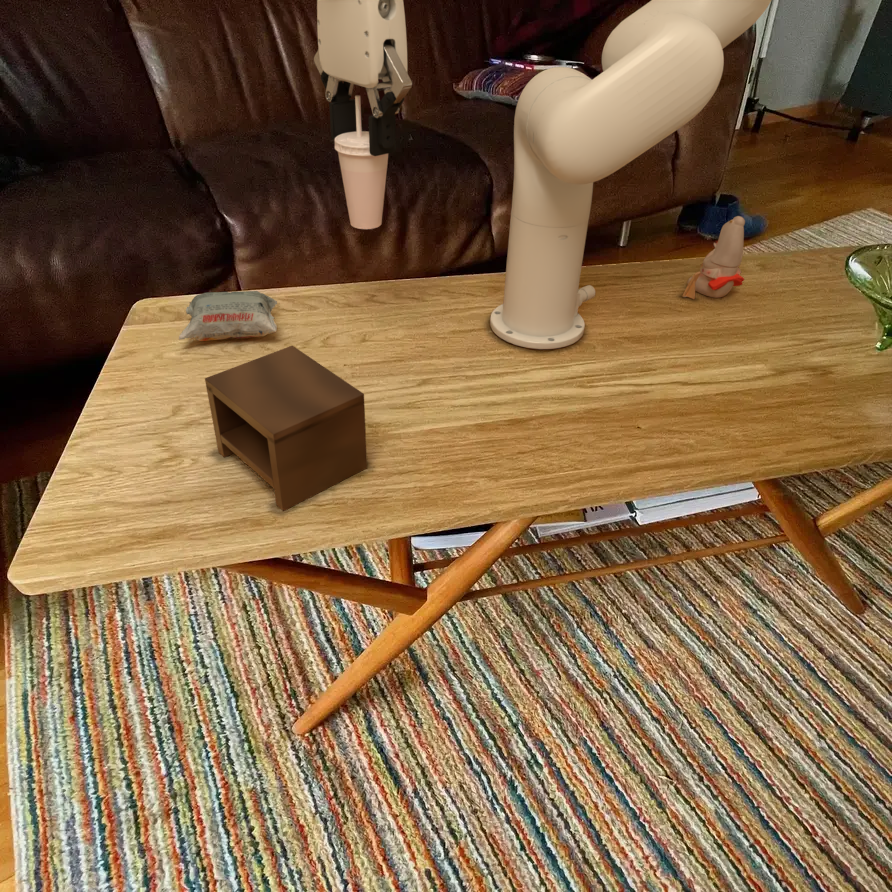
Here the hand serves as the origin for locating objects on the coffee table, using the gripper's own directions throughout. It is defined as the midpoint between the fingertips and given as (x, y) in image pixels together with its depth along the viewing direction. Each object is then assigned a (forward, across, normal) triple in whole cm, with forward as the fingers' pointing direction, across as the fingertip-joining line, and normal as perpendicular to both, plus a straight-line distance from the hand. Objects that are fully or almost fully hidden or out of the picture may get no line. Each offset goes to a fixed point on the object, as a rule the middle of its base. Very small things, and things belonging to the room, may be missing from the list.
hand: (363, 144), depth 85 cm
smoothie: (+9, 0, 0) cm, 9 cm away
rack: (+24, -16, +22) cm, 37 cm away
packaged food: (+24, +11, +14) cm, 30 cm away
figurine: (+24, -21, -47) cm, 57 cm away
